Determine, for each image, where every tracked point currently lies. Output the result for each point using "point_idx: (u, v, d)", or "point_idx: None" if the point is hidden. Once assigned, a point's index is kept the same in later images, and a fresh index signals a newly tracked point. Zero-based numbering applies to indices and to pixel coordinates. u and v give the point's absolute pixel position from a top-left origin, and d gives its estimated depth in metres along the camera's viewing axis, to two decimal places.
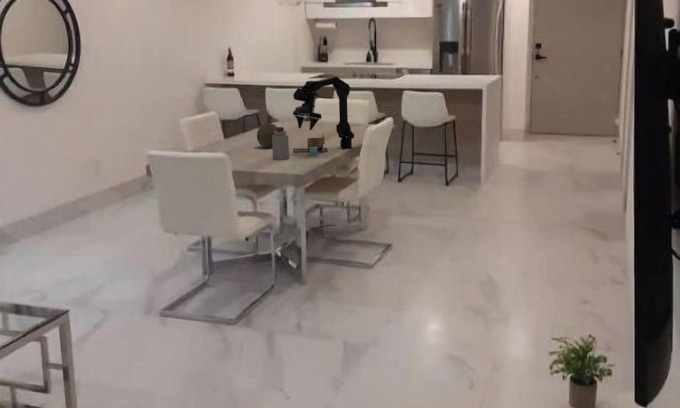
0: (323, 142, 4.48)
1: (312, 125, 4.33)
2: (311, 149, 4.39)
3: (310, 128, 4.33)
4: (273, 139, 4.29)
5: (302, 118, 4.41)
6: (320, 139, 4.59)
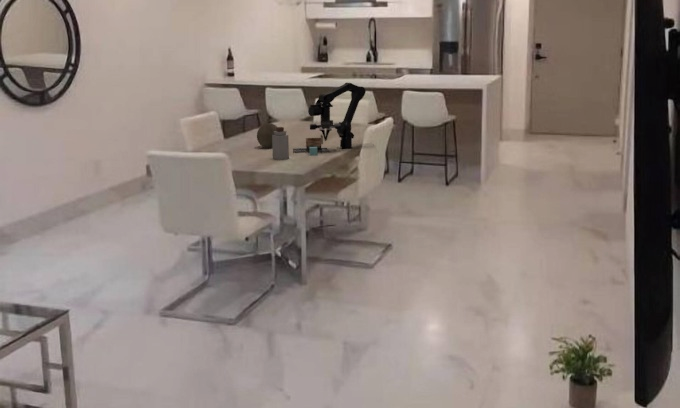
0: (321, 142, 4.48)
1: (327, 136, 4.53)
2: (311, 149, 4.39)
3: (326, 139, 4.53)
4: (273, 139, 4.29)
5: None
6: (318, 139, 4.58)
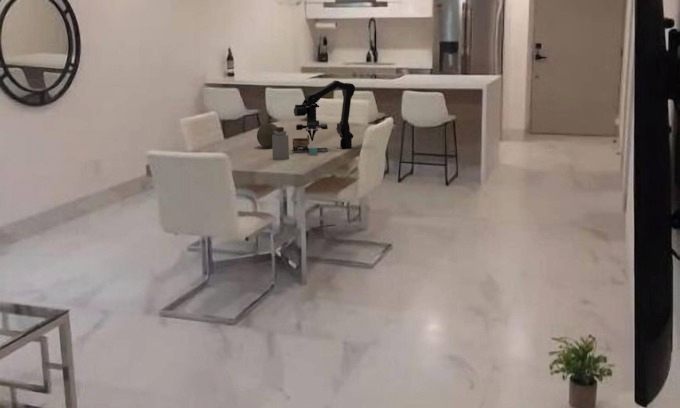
0: (308, 142, 4.47)
1: (313, 136, 4.53)
2: (311, 149, 4.39)
3: None
4: (273, 139, 4.29)
5: (310, 130, 4.53)
6: (305, 139, 4.58)
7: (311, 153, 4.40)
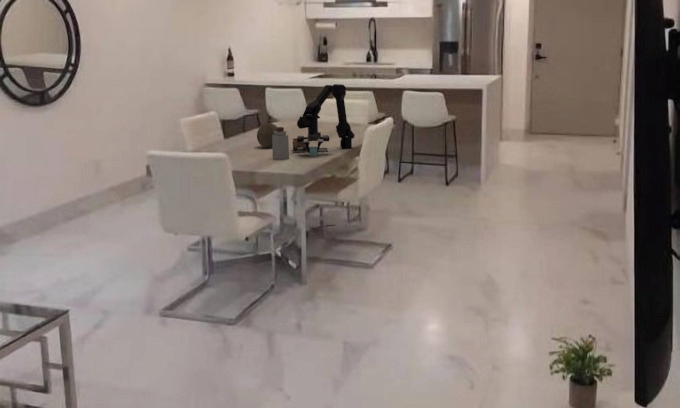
0: (308, 142, 4.47)
1: None
2: (311, 149, 4.39)
3: None
4: (273, 139, 4.29)
5: None
6: None
7: (311, 153, 4.39)
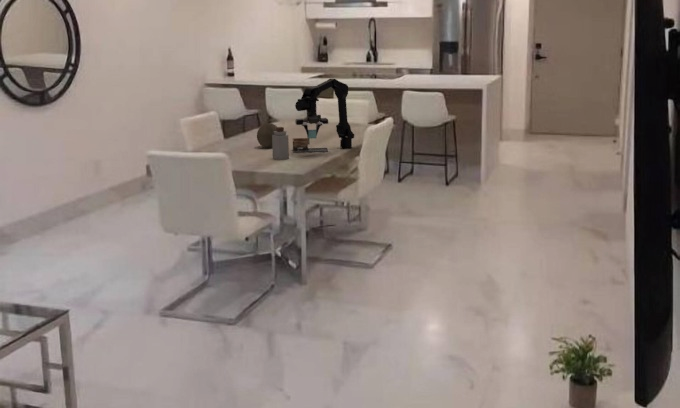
0: (308, 142, 4.47)
1: None
2: (310, 132, 4.37)
3: None
4: (273, 139, 4.29)
5: None
6: (305, 139, 4.58)
7: (310, 136, 4.38)
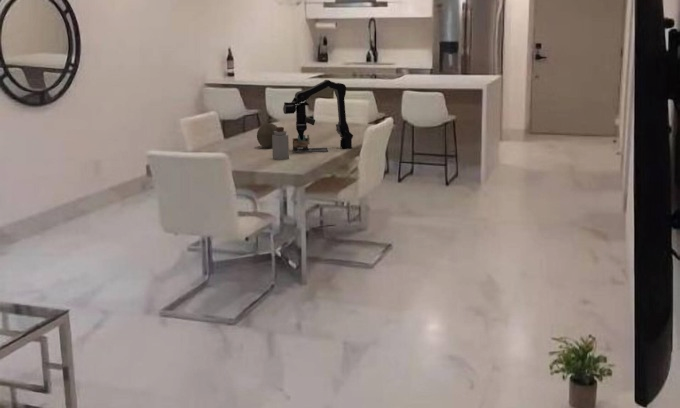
0: (308, 142, 4.47)
1: None
2: None
3: None
4: (273, 139, 4.29)
5: None
6: (305, 139, 4.58)
7: None
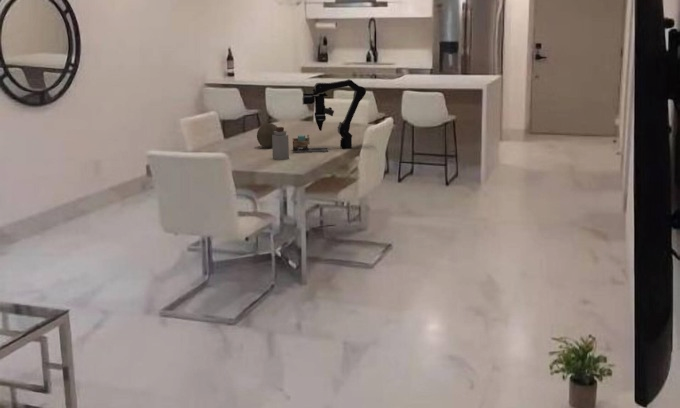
0: (308, 142, 4.47)
1: None
2: None
3: None
4: (273, 139, 4.29)
5: None
6: (305, 139, 4.58)
7: None
